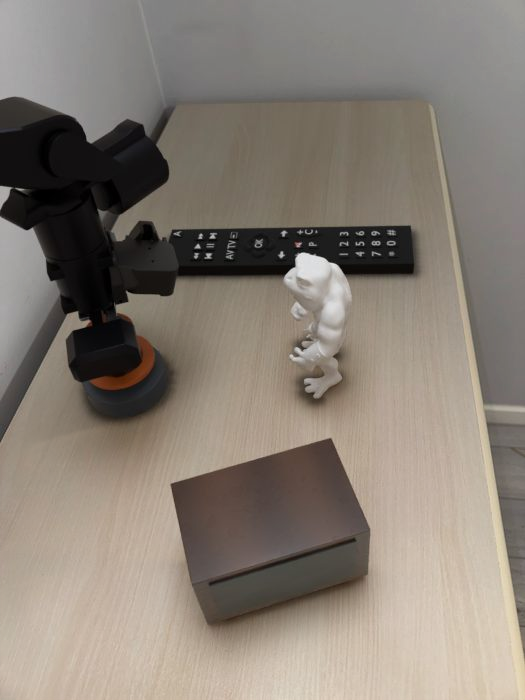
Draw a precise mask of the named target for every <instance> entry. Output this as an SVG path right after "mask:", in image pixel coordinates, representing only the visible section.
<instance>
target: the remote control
mask: <svg viewBox="0 0 525 700" xmlns="http://www.w3.org/2000/svg"><path fill="white" fill-rule="evenodd" d="M168 243H170V244H171V245H172V246H173V248H174V251H175V255H176V258H177V261H178V265H179V268H178V273H177V276H257V275H258V276H260V275H261V276H263V275H264V276H267V275H269V276H270V275H271V276H272V275H274V276H275V275H277V276H278V275H280V276H281V275H282V276H283V275H284V276H285V275H286V274H287V273H288V272H289V271H290V270H291V269H293V268H295V267H296V264H295V259H296V257H297V256H298V255H299V254H300V253H307V254H310V255H314V256H318V257H322V258H325V259H326V260H327V261H328V262H329V263H334V264H336V265H338V266H339V268H340V269H341V270H342V272H343V274H344V275H393V274H395V275H397V274H398V275H399V274H400V275H401V274H402V275H403V274H404V275H405V274H406V275H407V274H411V275H412V274H414V268H415V256H414V247H413V235H412V225H409V224H408V225H358V226H357V225H355V226H353V225H352V226H351V225H349V226H304V227H303V226H302V227H301V226H299V227H298V226H296V227H295V226H294V227H240V228H179V229H178V228H176V229H175V228H174V229H173V228H172V229H171V231H170V235H169V239H168Z"/></svg>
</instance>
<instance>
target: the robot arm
mask: <svg viewBox="0 0 525 700" xmlns="http://www.w3.org/2000/svg"><path fill="white" fill-rule="evenodd" d="M169 178H170V166H169V163H168V160H167V159H166V158H165V157H164V155H163V153H162V151H161V150H160V148H159V147H158V146H157V145H156V143H155V142H154V141H153V139H151V137H150V136H148V135H147V133H146V129H145V125H144V124H143V123H142V122H141V123H140V122H137V121H135V120H132V119H129V118H126V119H125V120H123V121H121V122H119V123H118V124H117V125H116V126H115V127H114V128H113V129H112V130H111V131H109V132H107V133H106V134H103V136H101V137H99V138H98V139H96V140H94V141H93V142H89V141H88V140H87V135H86V132H85V130H84V128H83V125H81V123H80V122H79V121H78V119H77V118H76V117H74V116H71V115H69V114H66V113H64V112H61V111H59V110H56V109H54V108H51V107H49V106H46V105H43V104H40V103H38V102H36V101H33V100H30V99H28V98H25V97H22V96H9V97H5V98H2V99H0V187H5V188H9V193H8V197H7V198H6V200H5V201H4V202H3V203H2V205H1V207H0V218H1V219H3V220H5V221H7V222H9V223H10V224H13V225H14V226H16V227H18V228H20V229H22V230H24V231H30V230H32V229H33V231H34V234H35V236H36V239H37V241H38V244H39V246H40V248H41V251H42V253H43V256H44V258H45V267H46V274H47V277H48V279H49V282H55V284H56V287H57V289H58V291H59V296H60V306H61V310H62V312H63V314H64V315H69V314H73V313H76V312H77V315H78V320H79V322H86V321H89V322H90V321H92V326H88V327H86V326H85V327H80V328H78V329H72V331H71V332H70V334H69V335H68V336H67V337H66V338H65V348H66V357H67V366H68V369H69V371H70V373H71V376H72V377H73V380H74V381H77V382H79V383H82V382H85V381H89V380H93V379H96V378H100V377H104V376H108V375H112V376H113V377H115V378H117V377H121V376H124V375H125V371H127V370H131V369H134V368H137V367H138V366H139V365H140V364H141V363H142V358H141V353H140V348H139V343H138V339H137V336H136V334H137V331H136V328H135V327H136V326H135V324H134V323H131V322H129V321H126V320H125V318H124V317H123V316H118V315H117V313H118V312H117V306H118V305H122V304H126V303H129V302H130V301H129V296H128V293H129V294H132V295H151V296H154V295H155V296H160V297H170V296H172V295H173V294H174V292H175V288H176V283H177V277H178V275H177V273H178V268H179V265H178V261H177V258H176V255H175V251H174V248H173V246H172V245H171V244H170V243H168V242H169V240H168V237H166V236H162V238H160V236H159V233H158V231H157V229H156V226H155V224H154V222H153V221H152V220H138V221H137V222H136V224H135V225H134V226H133V228H132V229H131V230H130V232H129V234H126V235H125V237H124V239H123V240H117V238H116V235H115V232H113V231H111V230H109V229H107V227H106V226H104V224H103V222H102V221H103V220H102V219H101V215H100V212H99V211H101V212H109V213H111V214H113V215H117V216H119V215H120V216H121V215H123V214H124V213H127V211H129V210H130V209H132V208H133V207H134V206H136V205H137V204H139V203H140V202H141V201H143V200H144V199H145V198H147V197H149V195H151V194H153V193H154V192H156V191H157V190H158V189H160V188H162V186H164V185H165V184H166V183H168V181H169V180H170V179H169ZM104 314H106V320H107V321H108V322H105V319H104Z"/></svg>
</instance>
